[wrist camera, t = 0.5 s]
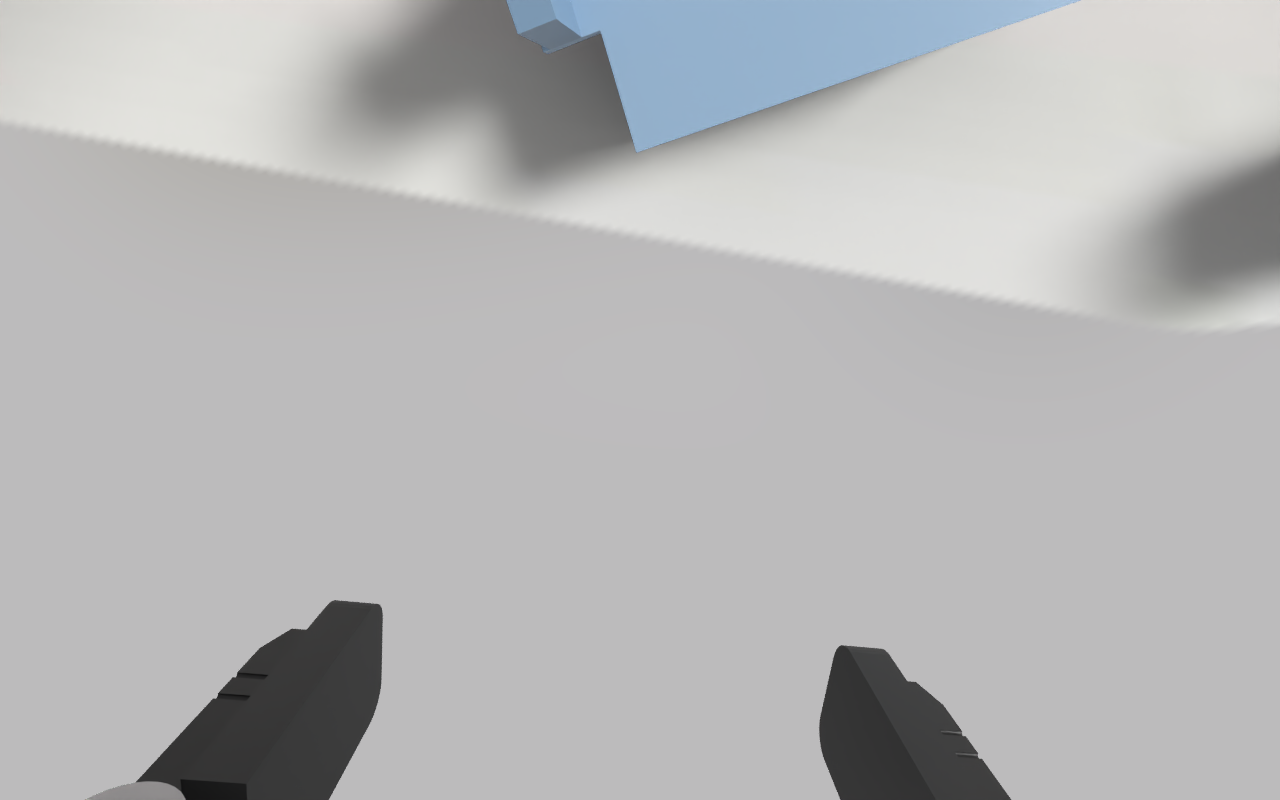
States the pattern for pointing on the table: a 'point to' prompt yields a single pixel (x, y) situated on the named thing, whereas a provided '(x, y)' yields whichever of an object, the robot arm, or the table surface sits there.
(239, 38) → the table surface
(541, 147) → the table surface
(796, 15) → the tub lid
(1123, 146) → the table surface
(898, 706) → the robot arm
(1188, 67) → the table surface
